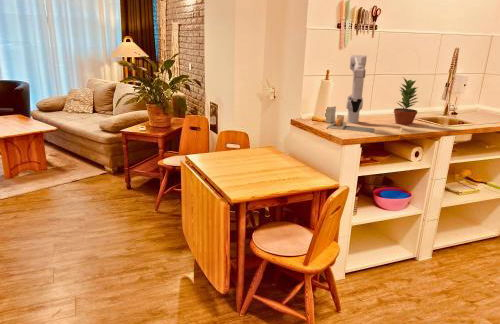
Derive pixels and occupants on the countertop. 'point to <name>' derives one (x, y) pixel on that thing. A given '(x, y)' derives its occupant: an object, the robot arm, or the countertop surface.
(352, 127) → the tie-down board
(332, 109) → the small box
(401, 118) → the potted plant
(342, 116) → the beige open rectangular frame
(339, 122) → the post
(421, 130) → the countertop surface
